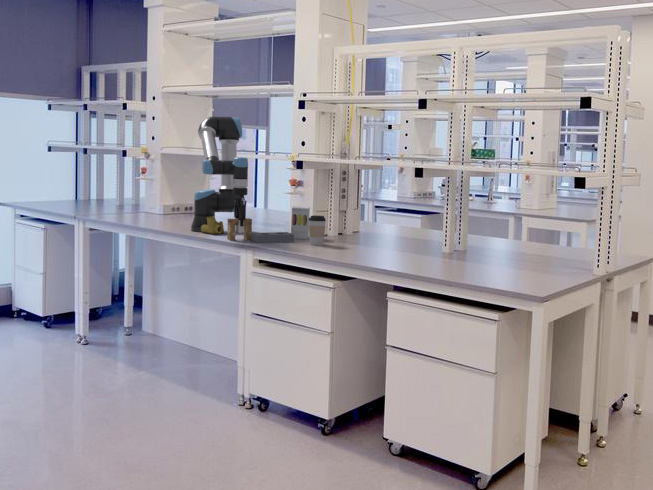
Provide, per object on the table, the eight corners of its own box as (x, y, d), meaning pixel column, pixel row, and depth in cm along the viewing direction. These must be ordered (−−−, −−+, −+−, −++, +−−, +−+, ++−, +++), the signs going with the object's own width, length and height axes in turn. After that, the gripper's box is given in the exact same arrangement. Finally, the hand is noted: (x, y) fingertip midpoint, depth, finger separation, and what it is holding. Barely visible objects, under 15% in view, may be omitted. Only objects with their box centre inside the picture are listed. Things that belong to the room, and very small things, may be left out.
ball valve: (216, 236, 397) (229, 232, 404) (214, 218, 395) (227, 214, 402) (200, 235, 404) (213, 232, 412) (198, 217, 402) (211, 214, 410)
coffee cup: (305, 244, 370) (305, 215, 368) (311, 242, 379) (311, 214, 377) (321, 246, 368) (322, 216, 365) (327, 244, 376) (328, 215, 374)
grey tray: (257, 243, 371) (257, 235, 370) (251, 240, 380) (251, 232, 379) (293, 241, 380) (293, 234, 379) (286, 239, 388) (286, 232, 388)
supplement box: (290, 238, 393) (291, 207, 391) (291, 236, 402) (292, 206, 400) (308, 239, 393) (308, 208, 390) (309, 237, 402) (310, 206, 399)
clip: (229, 240, 377) (229, 219, 375) (227, 239, 380) (227, 218, 379) (251, 239, 382) (251, 219, 381) (249, 238, 386) (249, 218, 384)
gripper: (228, 186, 383) (227, 230, 387) (238, 188, 368) (237, 234, 371) (241, 186, 387) (241, 229, 390) (252, 188, 371) (251, 233, 375)
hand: (239, 231), depth 381 cm, fingers closed on clip, 4 cm apart
